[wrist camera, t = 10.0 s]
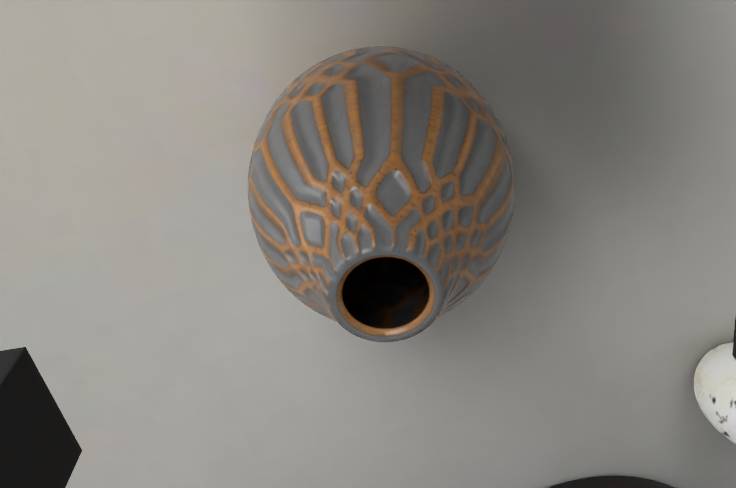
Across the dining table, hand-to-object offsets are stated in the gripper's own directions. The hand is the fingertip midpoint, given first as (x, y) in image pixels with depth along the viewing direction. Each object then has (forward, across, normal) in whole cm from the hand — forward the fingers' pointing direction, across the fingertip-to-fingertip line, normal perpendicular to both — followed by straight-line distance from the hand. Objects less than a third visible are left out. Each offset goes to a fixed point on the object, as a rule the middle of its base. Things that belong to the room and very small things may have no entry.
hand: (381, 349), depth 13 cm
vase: (+10, 0, 0) cm, 10 cm away
